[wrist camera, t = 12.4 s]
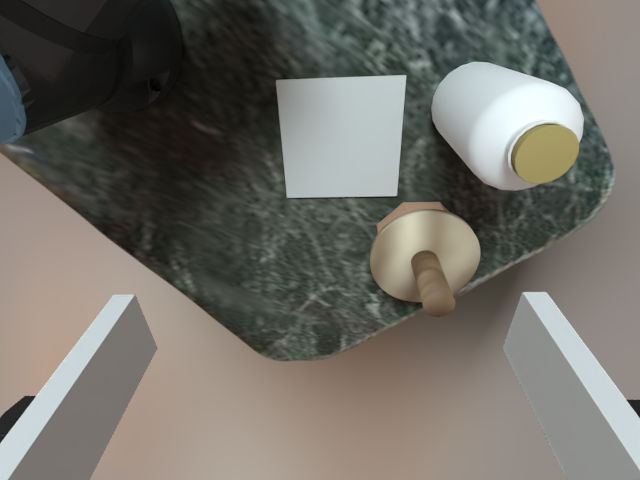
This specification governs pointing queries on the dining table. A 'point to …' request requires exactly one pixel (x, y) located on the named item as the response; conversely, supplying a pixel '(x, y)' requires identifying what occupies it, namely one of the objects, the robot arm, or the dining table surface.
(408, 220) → the lid
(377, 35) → the dining table surface
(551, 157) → the white bottle
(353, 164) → the mat
